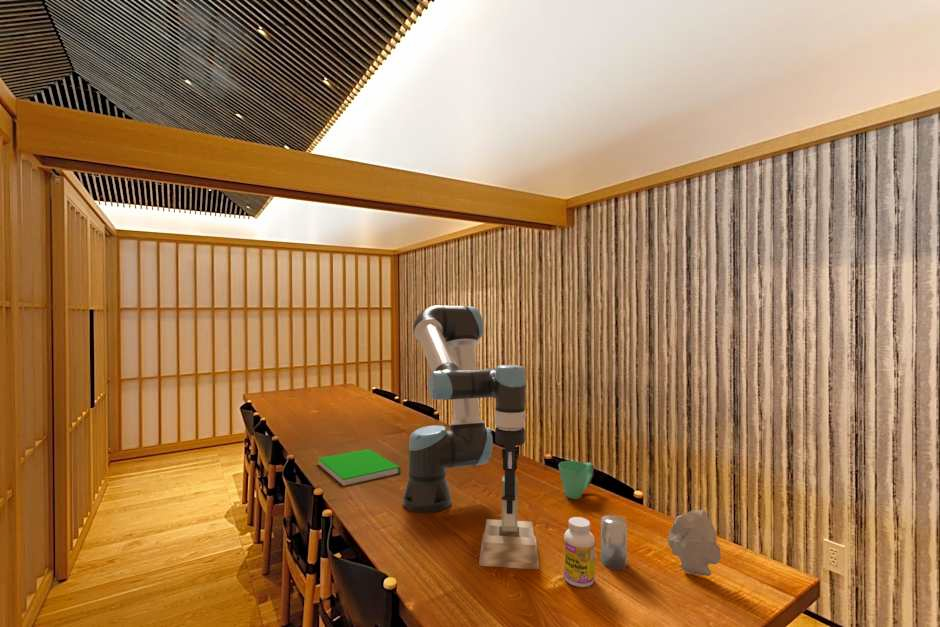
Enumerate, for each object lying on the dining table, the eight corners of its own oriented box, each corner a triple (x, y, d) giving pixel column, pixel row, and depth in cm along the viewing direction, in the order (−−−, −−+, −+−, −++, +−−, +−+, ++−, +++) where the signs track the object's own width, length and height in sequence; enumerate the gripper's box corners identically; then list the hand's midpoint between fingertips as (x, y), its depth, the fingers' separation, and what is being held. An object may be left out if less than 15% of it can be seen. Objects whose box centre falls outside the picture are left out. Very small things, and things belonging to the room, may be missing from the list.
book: (342, 487, 147) (343, 478, 147) (317, 465, 170) (317, 458, 170) (400, 474, 161) (400, 466, 161) (370, 455, 183) (370, 448, 183)
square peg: (501, 530, 104) (502, 481, 105) (502, 523, 108) (502, 476, 108) (517, 531, 104) (517, 482, 104) (517, 524, 108) (517, 476, 108)
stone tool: (665, 569, 99) (665, 504, 99) (669, 562, 102) (669, 499, 102) (719, 588, 92) (719, 518, 92) (722, 580, 95) (721, 512, 95)
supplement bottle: (559, 582, 94) (559, 523, 94) (569, 567, 99) (569, 512, 100) (589, 592, 90) (589, 531, 90) (597, 577, 96) (598, 519, 96)
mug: (575, 504, 134) (575, 472, 134) (552, 494, 142) (552, 464, 142) (603, 494, 143) (604, 464, 143) (580, 485, 151) (580, 456, 151)
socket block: (479, 565, 100) (479, 544, 100) (482, 536, 114) (483, 517, 114) (539, 569, 98) (539, 547, 98) (535, 539, 112) (535, 520, 112)
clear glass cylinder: (603, 568, 99) (604, 525, 99) (598, 555, 105) (598, 514, 105) (629, 570, 98) (629, 526, 99) (622, 556, 104) (623, 515, 104)
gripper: (526, 436, 98) (525, 538, 97) (524, 420, 115) (523, 507, 114) (493, 435, 99) (493, 537, 98) (496, 419, 115) (495, 506, 115)
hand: (509, 521), depth 106 cm, fingers closed on square peg, 4 cm apart
